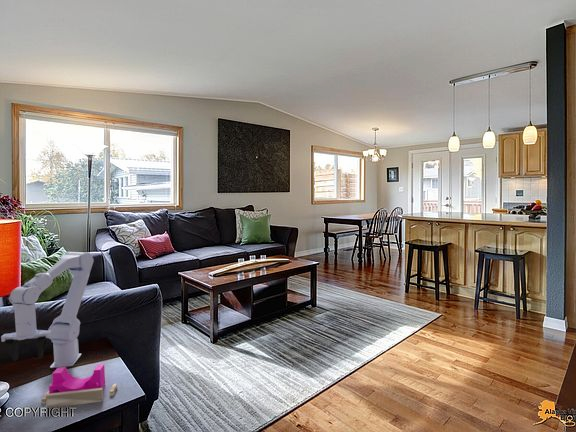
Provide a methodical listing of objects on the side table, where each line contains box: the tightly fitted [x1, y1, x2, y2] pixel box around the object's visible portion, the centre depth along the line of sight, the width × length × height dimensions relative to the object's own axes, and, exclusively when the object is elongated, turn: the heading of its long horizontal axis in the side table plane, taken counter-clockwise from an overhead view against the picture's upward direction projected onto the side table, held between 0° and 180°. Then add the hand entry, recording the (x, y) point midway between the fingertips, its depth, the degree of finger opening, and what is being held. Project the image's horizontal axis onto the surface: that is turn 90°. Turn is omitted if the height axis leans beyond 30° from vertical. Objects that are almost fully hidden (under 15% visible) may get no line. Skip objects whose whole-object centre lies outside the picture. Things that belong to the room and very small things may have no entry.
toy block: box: [48, 363, 106, 394], centre depth 117 cm, size 15×6×8 cm, turn 99°
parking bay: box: [40, 383, 118, 409], centre depth 114 cm, size 7×21×4 cm, turn 102°
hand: (28, 358), depth 121 cm, fingers open, 7 cm apart
